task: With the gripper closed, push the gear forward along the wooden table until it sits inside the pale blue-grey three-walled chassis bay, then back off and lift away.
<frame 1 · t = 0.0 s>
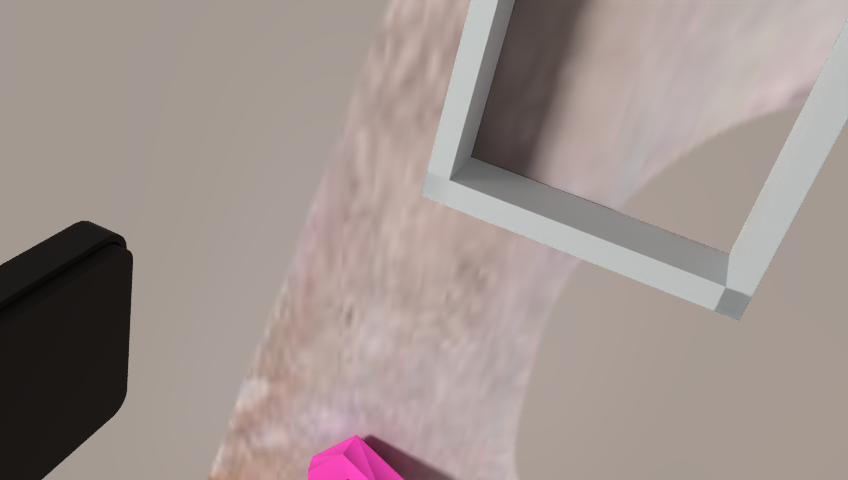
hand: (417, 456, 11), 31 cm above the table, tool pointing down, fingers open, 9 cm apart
chassis bay: (639, 90, 39), on the table
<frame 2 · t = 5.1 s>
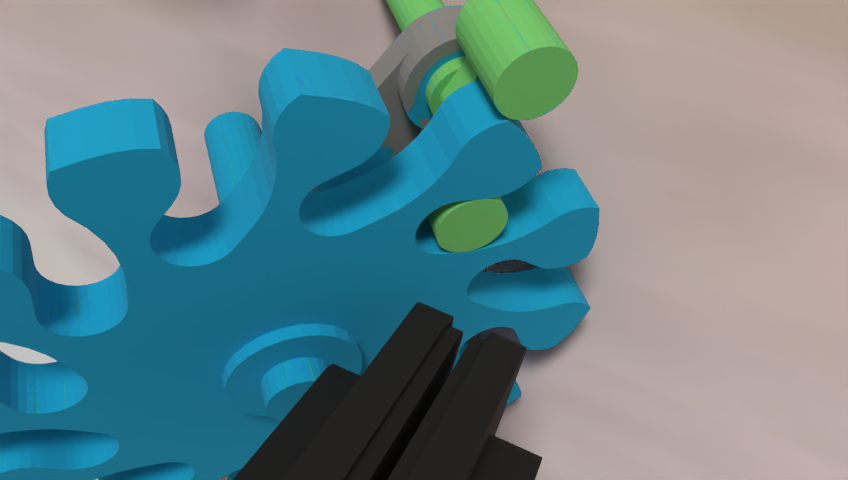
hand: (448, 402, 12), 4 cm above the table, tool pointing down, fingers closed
gear: (403, 214, 15), on the table, touching gripper
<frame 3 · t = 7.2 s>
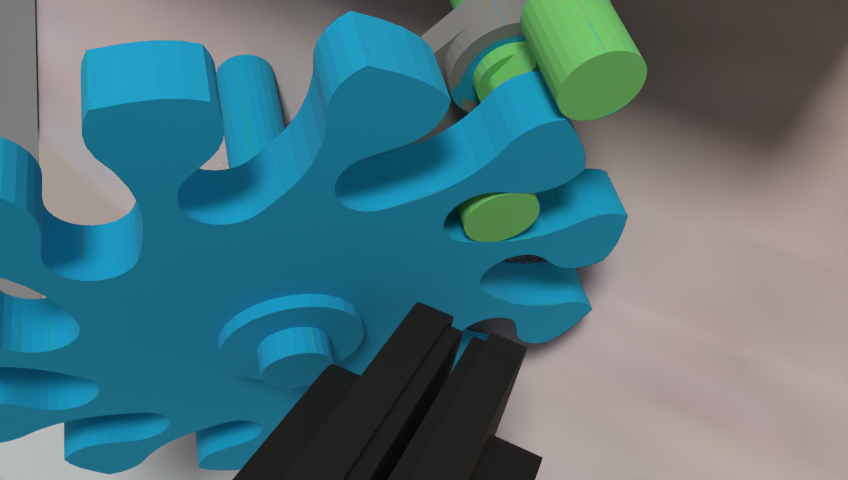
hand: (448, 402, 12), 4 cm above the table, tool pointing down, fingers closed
chassis bay: (304, 200, 16), on the table
gear: (410, 186, 15), on the table, touching gripper
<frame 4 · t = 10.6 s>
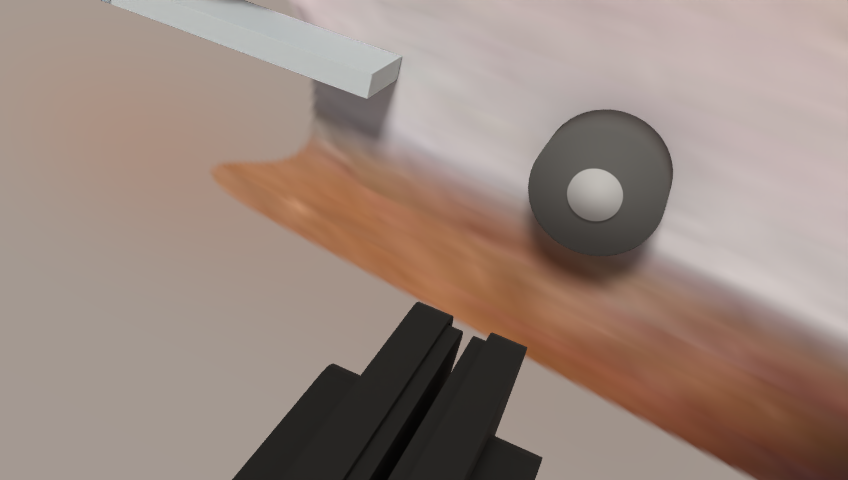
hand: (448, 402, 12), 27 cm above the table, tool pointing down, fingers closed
wheel: (606, 172, 38), on the table
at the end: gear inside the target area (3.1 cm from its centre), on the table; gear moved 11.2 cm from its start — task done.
